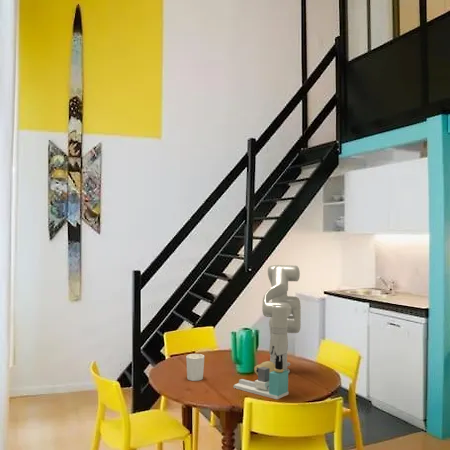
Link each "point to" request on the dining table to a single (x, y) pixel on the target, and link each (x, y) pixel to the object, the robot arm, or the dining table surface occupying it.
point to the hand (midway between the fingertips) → (278, 368)
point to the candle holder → (195, 366)
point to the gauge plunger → (278, 370)
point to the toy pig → (265, 364)
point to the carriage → (262, 378)
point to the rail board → (258, 391)
